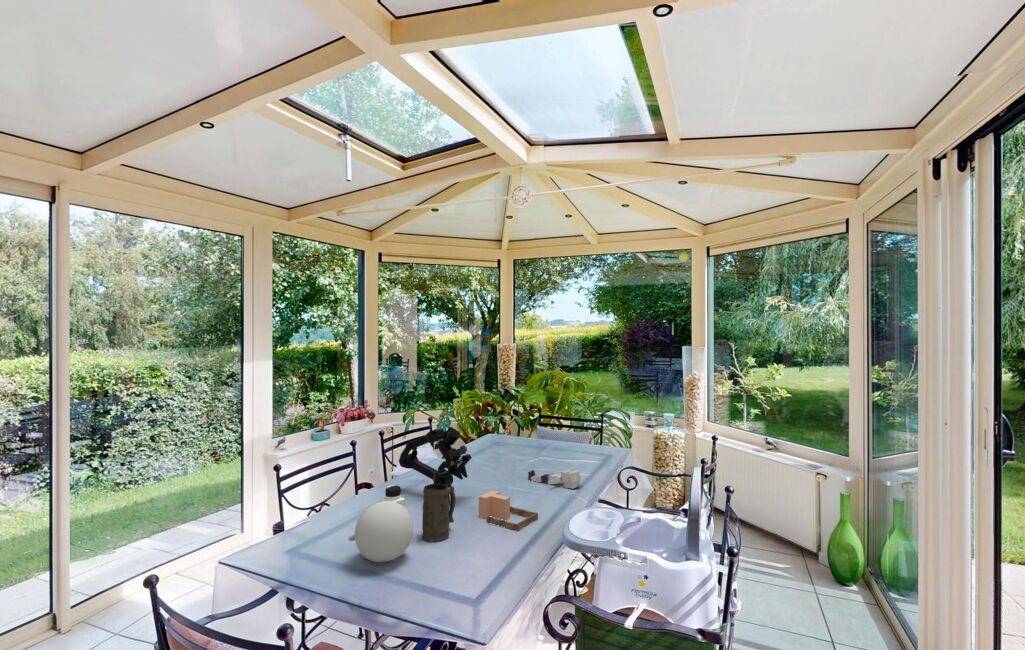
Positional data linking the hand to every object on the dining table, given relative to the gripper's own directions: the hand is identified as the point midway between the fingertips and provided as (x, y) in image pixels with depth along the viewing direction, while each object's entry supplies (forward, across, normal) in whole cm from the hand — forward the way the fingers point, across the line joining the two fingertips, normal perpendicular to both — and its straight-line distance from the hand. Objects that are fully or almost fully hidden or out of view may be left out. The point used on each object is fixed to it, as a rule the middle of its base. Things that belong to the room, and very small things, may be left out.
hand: (464, 478), depth 215 cm
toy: (+22, +55, -2) cm, 59 cm away
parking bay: (+29, 0, -10) cm, 30 cm away
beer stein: (+18, -28, +2) cm, 33 cm away
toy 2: (+17, -55, +3) cm, 58 cm away
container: (-4, -26, +24) cm, 35 cm away
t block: (+23, 0, -3) cm, 23 cm away
